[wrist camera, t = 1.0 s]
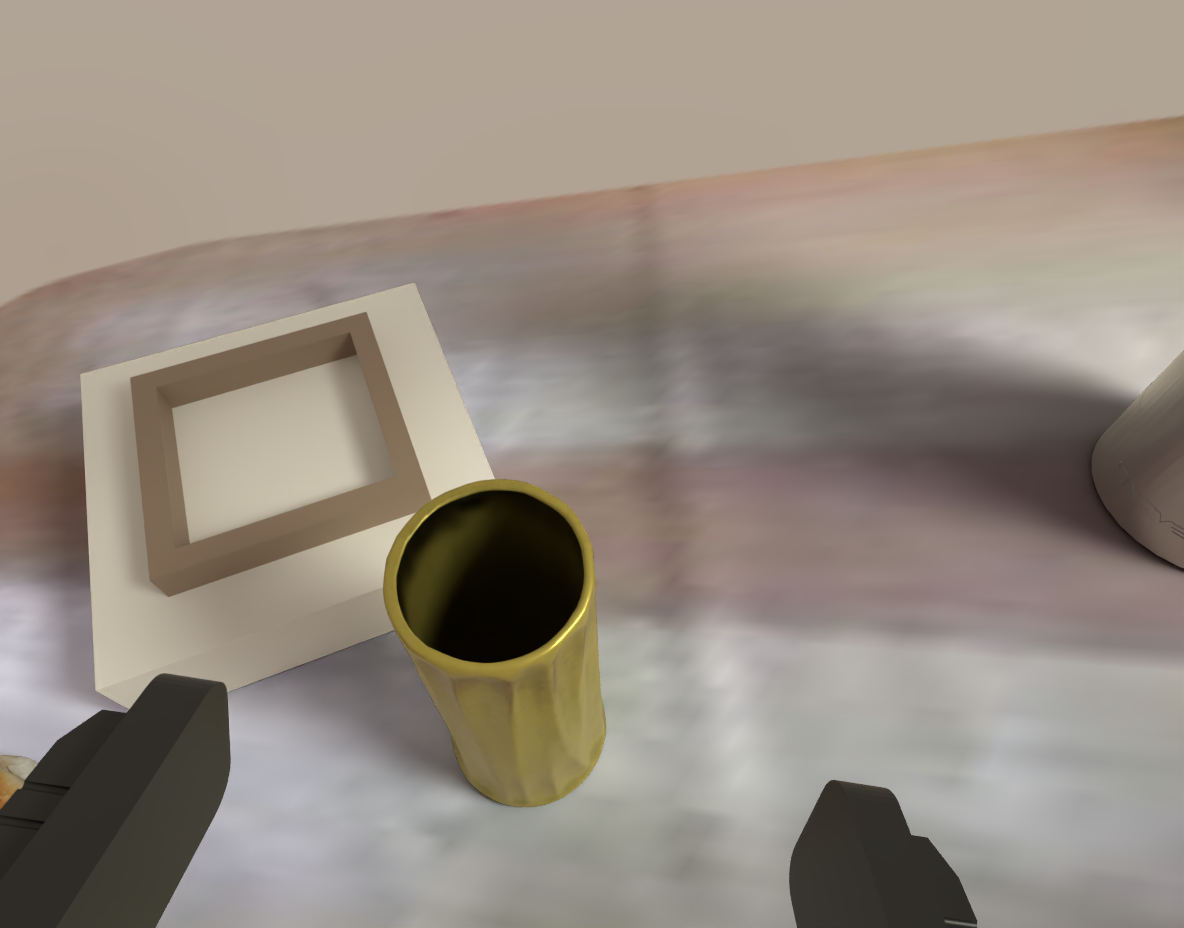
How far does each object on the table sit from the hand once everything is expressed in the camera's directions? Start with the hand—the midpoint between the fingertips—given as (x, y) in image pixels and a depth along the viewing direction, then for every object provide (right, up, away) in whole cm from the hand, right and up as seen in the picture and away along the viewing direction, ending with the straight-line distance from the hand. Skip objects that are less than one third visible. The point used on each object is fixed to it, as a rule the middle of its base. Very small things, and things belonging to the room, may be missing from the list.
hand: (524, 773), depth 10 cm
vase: (-2, -6, +20) cm, 21 cm away
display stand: (-13, +3, +26) cm, 29 cm away
